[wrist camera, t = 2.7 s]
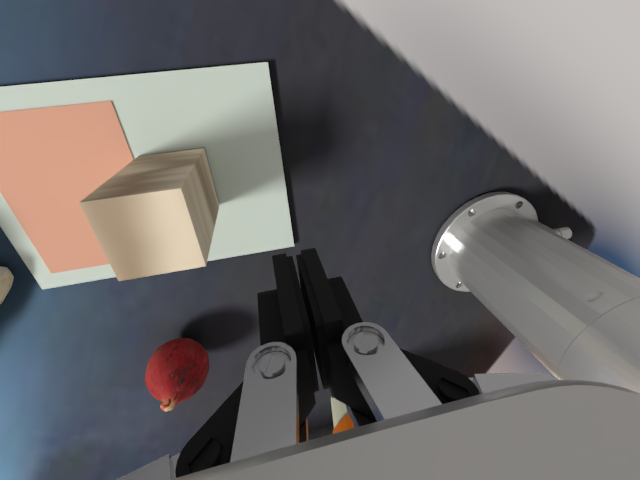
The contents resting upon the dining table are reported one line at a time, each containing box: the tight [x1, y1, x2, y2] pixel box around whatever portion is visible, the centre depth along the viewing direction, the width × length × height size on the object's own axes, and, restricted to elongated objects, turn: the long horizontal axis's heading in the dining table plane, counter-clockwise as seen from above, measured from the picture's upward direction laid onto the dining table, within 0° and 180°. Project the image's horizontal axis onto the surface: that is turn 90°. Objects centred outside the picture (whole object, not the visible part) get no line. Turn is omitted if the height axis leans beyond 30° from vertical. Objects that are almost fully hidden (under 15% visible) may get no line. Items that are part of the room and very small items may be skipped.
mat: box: [0, 62, 294, 289], centre depth 26 cm, size 23×16×1 cm
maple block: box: [79, 147, 220, 281], centre depth 22 cm, size 5×5×10 cm
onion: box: [145, 338, 209, 412], centre depth 31 cm, size 6×6×8 cm
